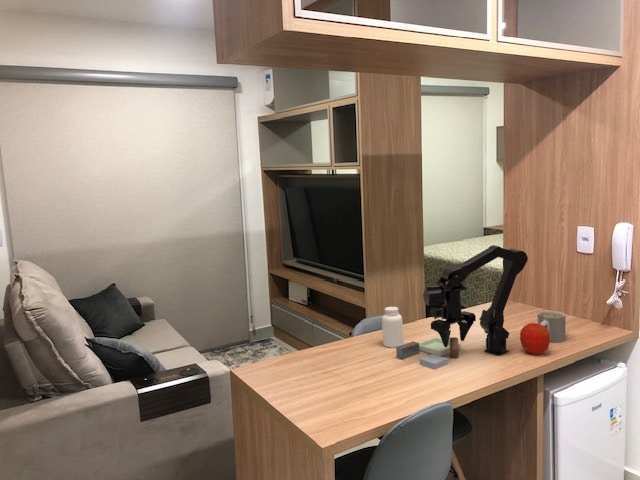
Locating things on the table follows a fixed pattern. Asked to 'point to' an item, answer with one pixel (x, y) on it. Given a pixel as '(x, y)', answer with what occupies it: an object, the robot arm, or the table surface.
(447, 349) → the tray
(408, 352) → the dark gray block
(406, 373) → the table surface
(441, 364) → the board
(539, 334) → the apple
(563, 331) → the coffee mug
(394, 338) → the pill bottle
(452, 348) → the dowel
